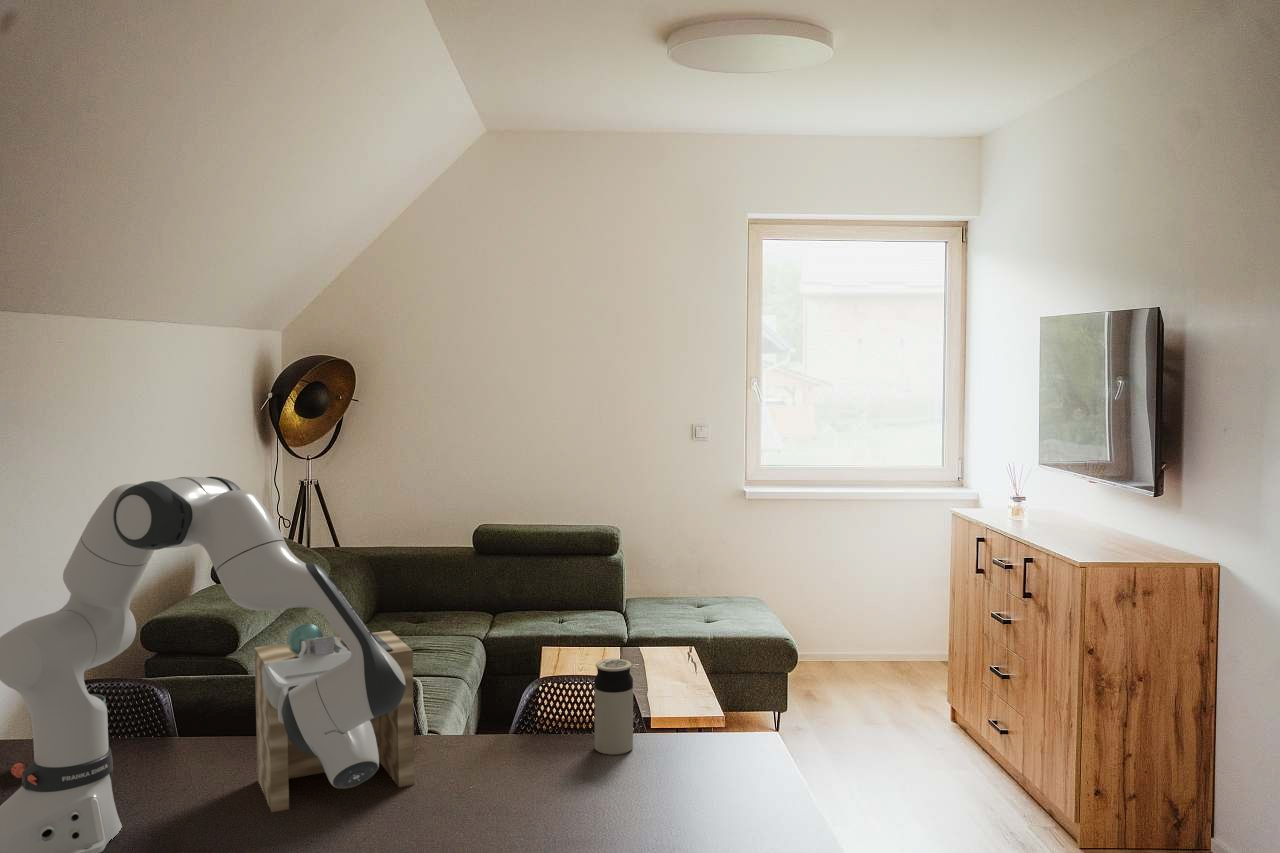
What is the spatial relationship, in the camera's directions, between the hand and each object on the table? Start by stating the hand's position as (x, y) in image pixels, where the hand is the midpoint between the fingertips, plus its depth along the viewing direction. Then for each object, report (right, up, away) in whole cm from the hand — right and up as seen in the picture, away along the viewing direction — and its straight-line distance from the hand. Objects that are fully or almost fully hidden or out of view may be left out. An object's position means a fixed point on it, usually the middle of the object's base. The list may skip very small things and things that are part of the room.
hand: (318, 641), depth 180 cm
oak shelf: (-3, -31, +19) cm, 37 cm away
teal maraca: (-2, -3, +5) cm, 6 cm away
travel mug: (+50, -30, +37) cm, 69 cm away
